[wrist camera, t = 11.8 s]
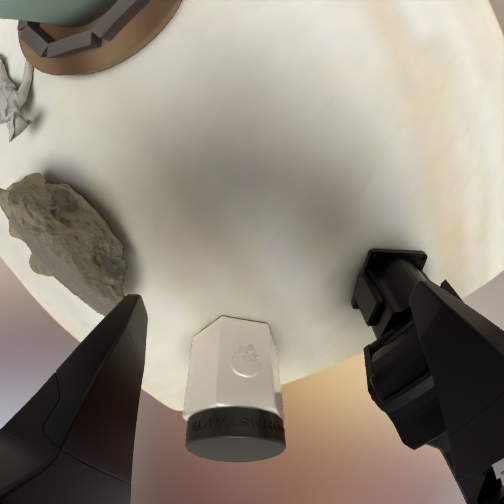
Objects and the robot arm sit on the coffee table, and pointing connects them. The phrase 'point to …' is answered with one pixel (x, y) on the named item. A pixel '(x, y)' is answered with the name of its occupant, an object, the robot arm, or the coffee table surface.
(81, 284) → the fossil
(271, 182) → the coffee table surface
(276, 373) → the jar
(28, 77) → the soldier figure
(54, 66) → the segmented ring tray
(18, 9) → the column
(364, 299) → the robot arm
